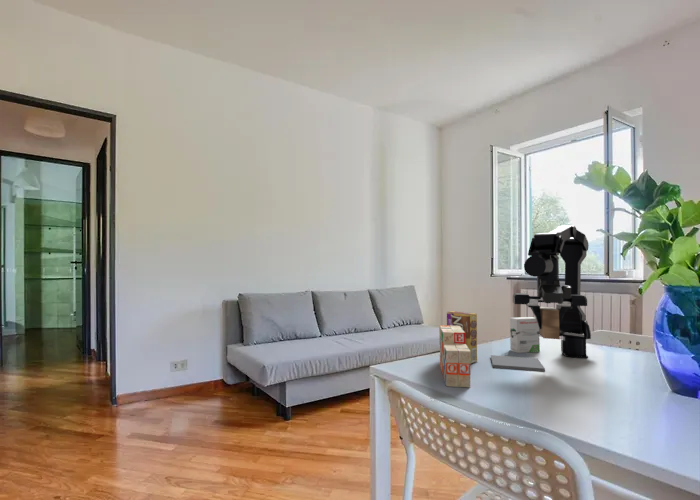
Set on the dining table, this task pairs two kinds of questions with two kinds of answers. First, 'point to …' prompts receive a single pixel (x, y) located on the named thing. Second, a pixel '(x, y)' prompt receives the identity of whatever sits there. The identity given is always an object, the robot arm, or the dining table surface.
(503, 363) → the rubber mat
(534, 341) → the ink box
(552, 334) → the cream panel wooden box
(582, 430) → the dining table surface
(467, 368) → the stack of blocks
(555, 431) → the dining table surface
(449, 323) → the candy box
